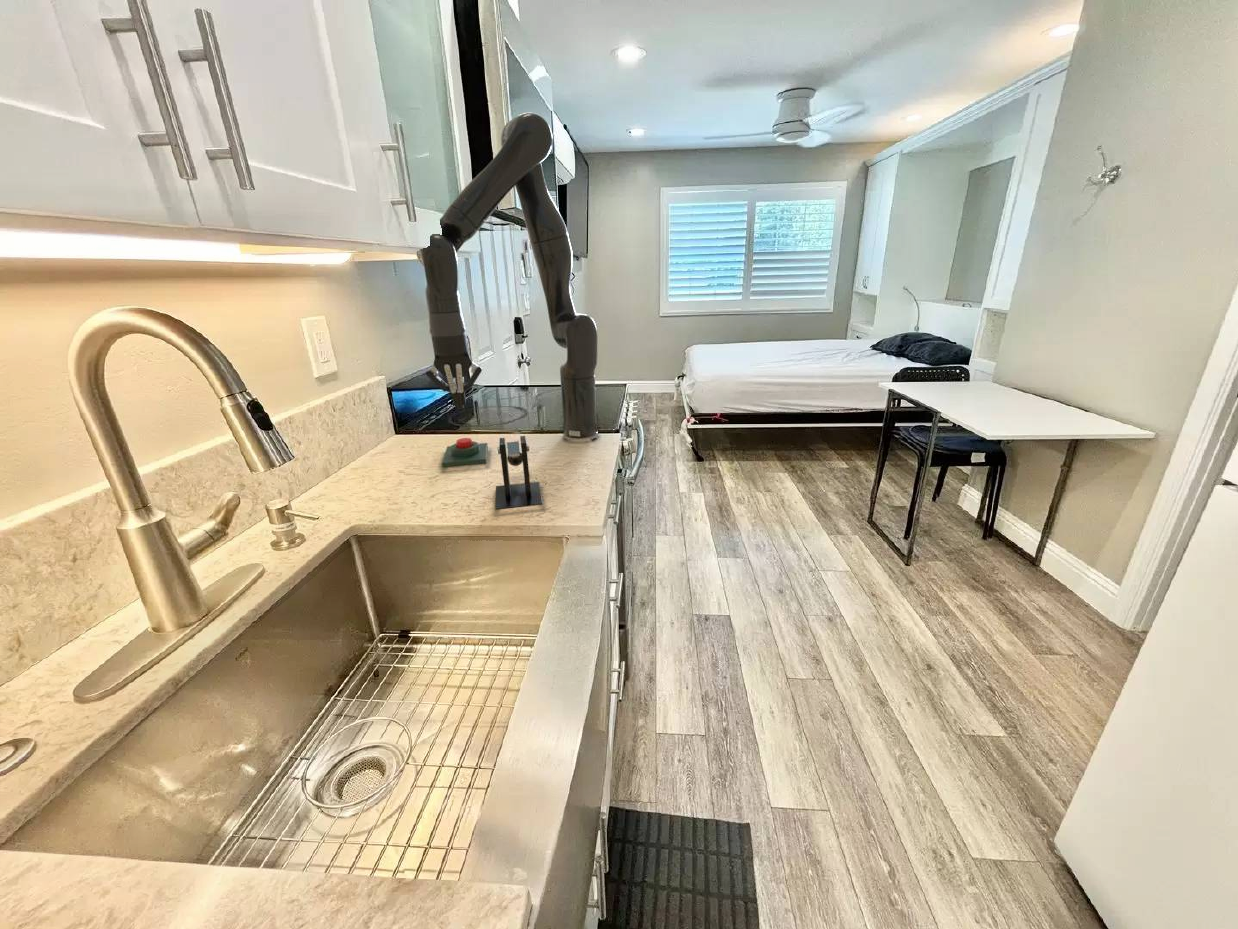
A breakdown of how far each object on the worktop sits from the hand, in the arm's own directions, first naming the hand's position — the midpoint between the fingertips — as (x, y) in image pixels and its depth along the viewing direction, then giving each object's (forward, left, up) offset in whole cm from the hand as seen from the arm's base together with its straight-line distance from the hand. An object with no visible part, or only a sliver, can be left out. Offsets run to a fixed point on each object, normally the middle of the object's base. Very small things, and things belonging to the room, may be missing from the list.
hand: (460, 407), depth 116 cm
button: (0, 0, -10) cm, 10 cm away
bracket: (+26, +12, -14) cm, 32 cm away
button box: (0, 0, -14) cm, 14 cm away
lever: (+22, +12, -7) cm, 26 cm away
